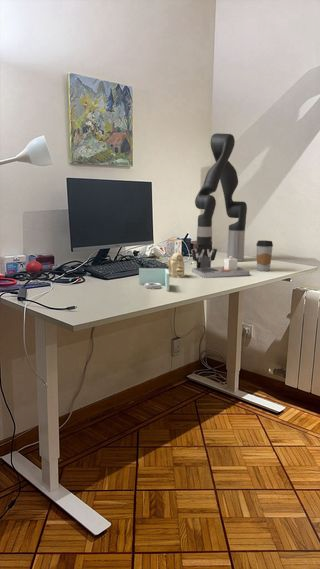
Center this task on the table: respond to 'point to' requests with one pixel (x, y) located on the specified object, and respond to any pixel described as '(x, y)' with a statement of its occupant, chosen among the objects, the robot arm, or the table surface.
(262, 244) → the coffee cup
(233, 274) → the socket plate
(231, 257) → the white plug
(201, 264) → the grey plug
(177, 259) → the robot
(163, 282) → the l-shaped corner panel
